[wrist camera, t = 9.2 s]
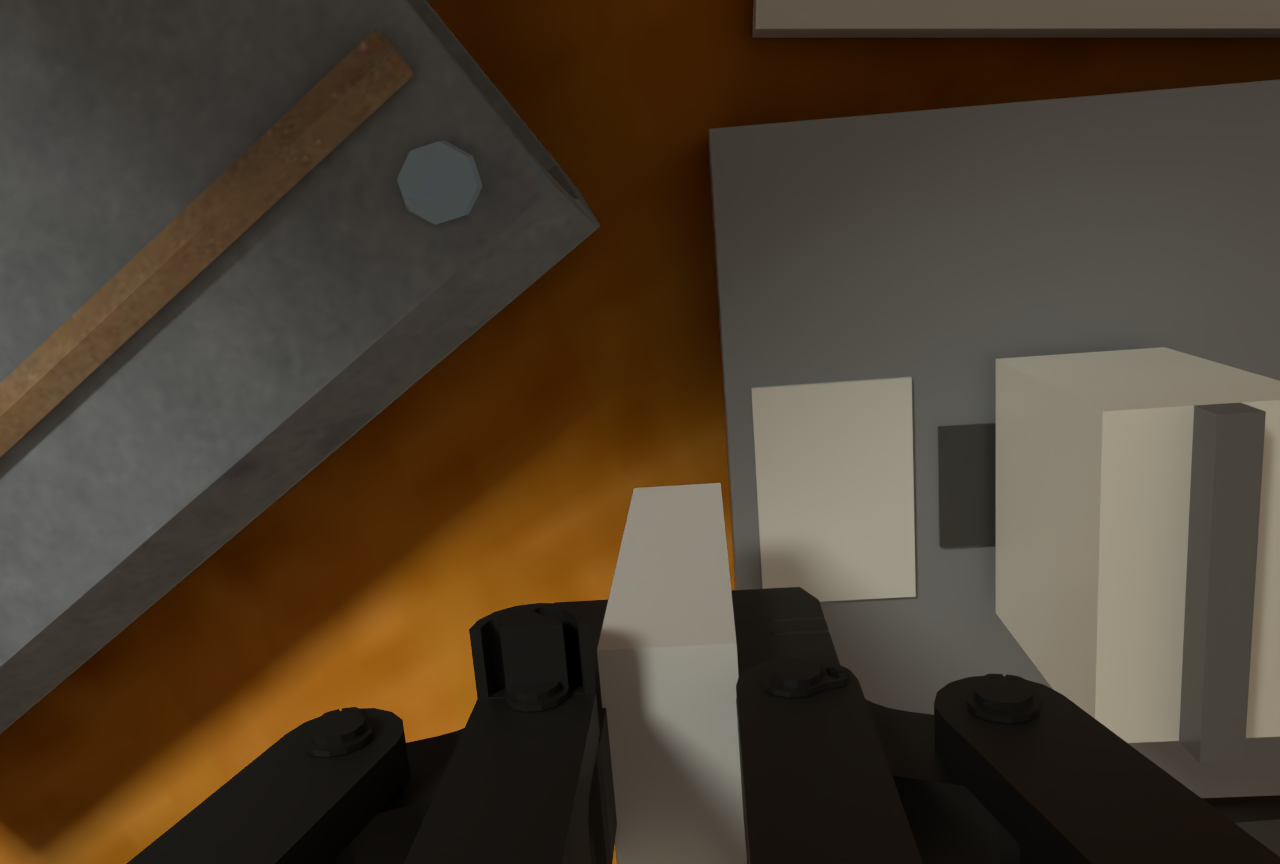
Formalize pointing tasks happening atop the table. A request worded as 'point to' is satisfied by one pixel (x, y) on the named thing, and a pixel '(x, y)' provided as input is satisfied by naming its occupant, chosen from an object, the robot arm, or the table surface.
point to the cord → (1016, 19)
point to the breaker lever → (1144, 540)
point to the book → (226, 276)
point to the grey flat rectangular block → (965, 341)
